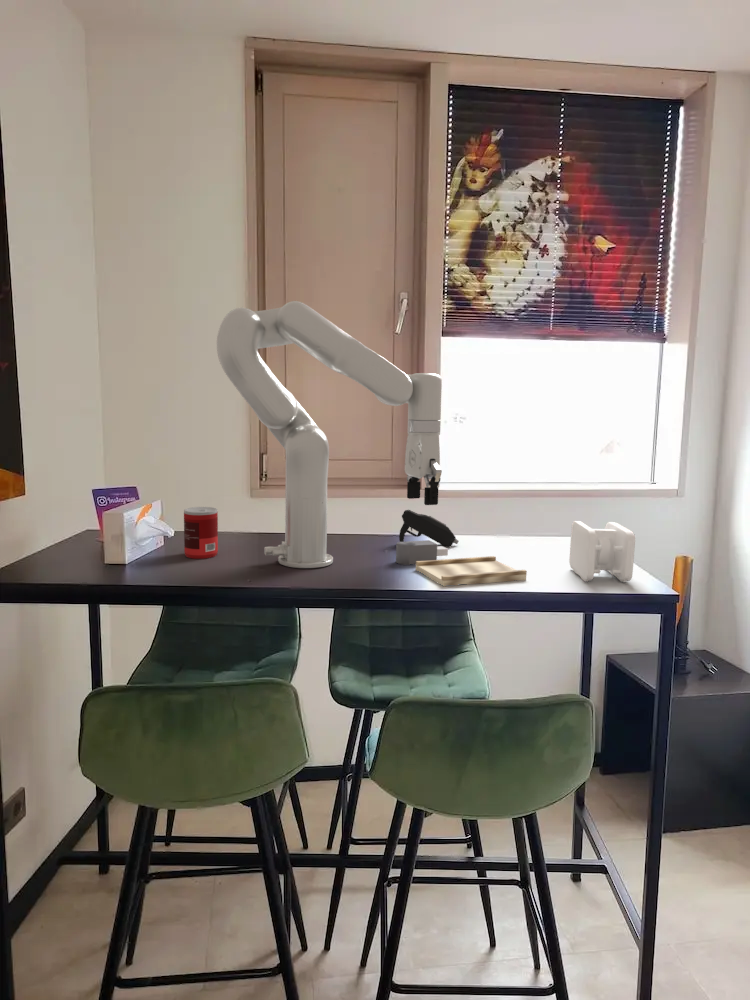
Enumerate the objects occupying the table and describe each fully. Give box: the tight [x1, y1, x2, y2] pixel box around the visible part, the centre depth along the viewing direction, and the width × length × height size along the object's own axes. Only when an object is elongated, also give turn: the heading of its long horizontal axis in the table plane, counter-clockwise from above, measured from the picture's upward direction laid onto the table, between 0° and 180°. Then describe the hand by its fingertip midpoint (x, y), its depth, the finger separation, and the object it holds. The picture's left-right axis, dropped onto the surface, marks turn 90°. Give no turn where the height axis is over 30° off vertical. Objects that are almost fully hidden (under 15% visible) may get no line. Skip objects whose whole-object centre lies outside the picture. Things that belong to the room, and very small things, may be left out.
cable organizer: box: [568, 520, 636, 583], centre depth 158 cm, size 15×11×12 cm
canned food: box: [183, 506, 219, 560], centre depth 167 cm, size 8×8×11 cm
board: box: [415, 555, 528, 587], centre depth 157 cm, size 20×14×2 cm
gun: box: [398, 509, 460, 548], centre depth 186 cm, size 3×16×10 cm, turn 89°
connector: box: [395, 539, 449, 566], centre depth 167 cm, size 12×4×4 cm, turn 111°
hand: (422, 501), depth 165 cm, fingers open, 9 cm apart
